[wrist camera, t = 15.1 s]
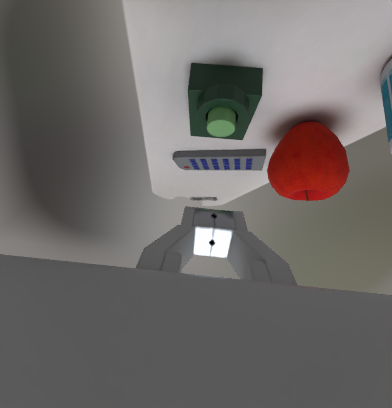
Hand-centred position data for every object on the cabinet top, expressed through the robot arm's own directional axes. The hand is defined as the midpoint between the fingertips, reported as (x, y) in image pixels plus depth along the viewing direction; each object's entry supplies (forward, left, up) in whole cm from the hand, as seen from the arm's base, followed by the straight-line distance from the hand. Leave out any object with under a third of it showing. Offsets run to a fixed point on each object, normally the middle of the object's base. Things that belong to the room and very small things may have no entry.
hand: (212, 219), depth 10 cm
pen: (+75, -20, -21) cm, 81 cm away
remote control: (+34, -6, -21) cm, 41 cm away
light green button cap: (+11, -2, -15) cm, 19 cm away
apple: (+24, +11, -21) cm, 34 cm away
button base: (+14, -3, -21) cm, 25 cm away
